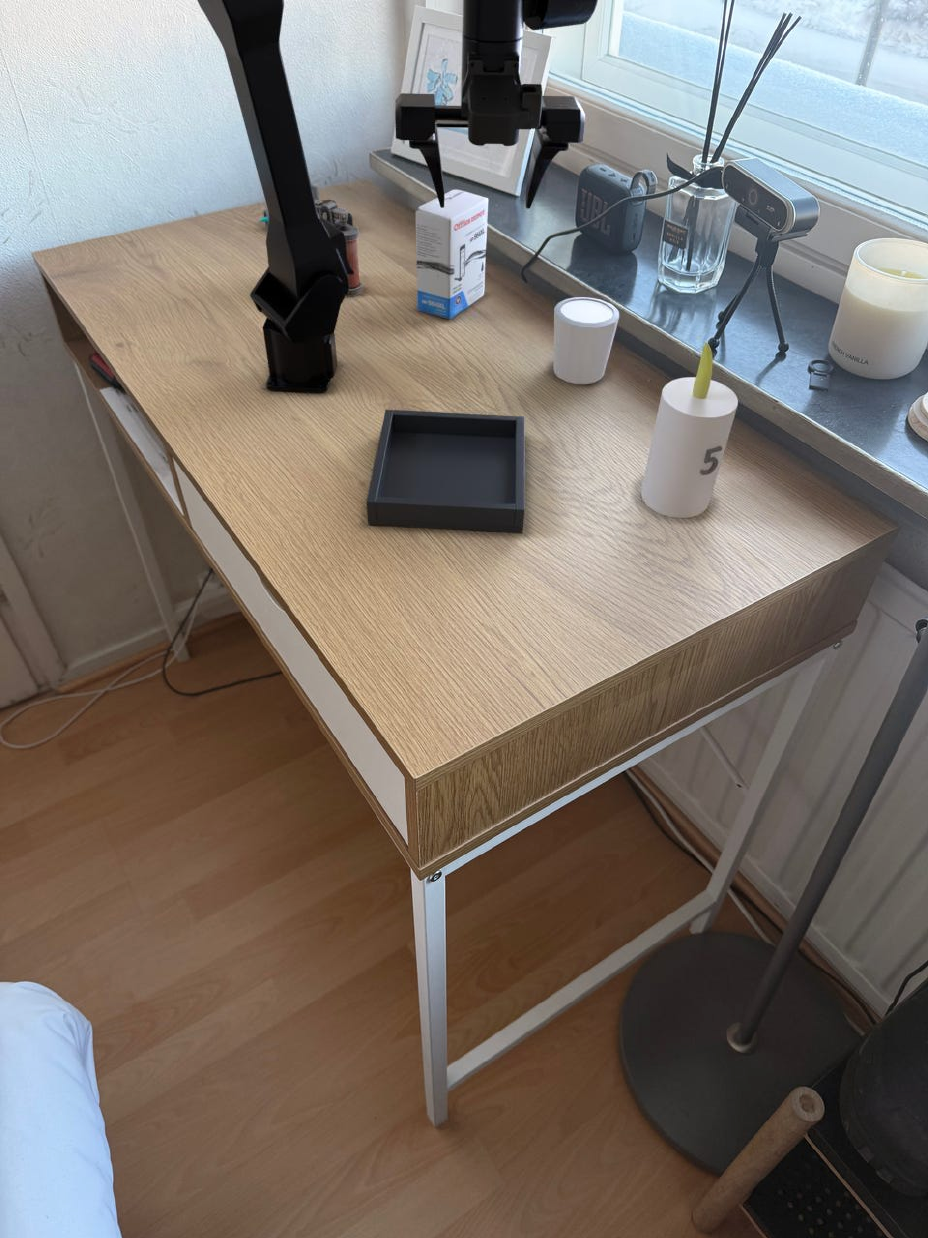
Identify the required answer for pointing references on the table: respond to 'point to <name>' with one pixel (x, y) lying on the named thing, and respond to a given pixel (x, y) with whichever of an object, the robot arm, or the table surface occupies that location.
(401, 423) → the tray
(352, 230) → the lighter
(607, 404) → the table surface
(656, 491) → the candle
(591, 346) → the white cylinder
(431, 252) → the ink box
